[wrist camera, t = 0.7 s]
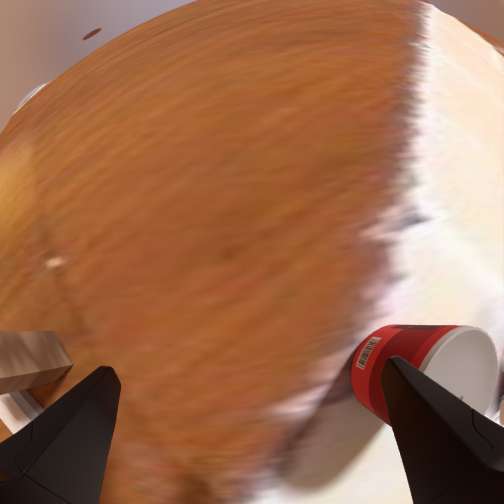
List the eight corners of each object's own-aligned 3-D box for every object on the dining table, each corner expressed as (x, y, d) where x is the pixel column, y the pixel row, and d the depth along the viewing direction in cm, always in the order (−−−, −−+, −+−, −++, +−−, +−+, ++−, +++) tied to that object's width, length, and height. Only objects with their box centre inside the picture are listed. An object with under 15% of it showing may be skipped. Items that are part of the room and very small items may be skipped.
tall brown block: (73, 364, 21) (-1, 378, 11) (55, 381, 21) (-15, 398, 10) (54, 331, 22) (-20, 330, 12) (37, 350, 21) (-33, 354, 11)
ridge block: (62, 427, 19) (44, 436, 16) (51, 459, 18) (36, 469, 15) (-2, 353, 21) (-20, 354, 17) (-9, 389, 20) (-25, 392, 16)
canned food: (350, 416, 20) (407, 472, 10) (342, 334, 22) (409, 348, 11) (419, 392, 20) (494, 420, 10) (414, 315, 22) (497, 310, 11)
